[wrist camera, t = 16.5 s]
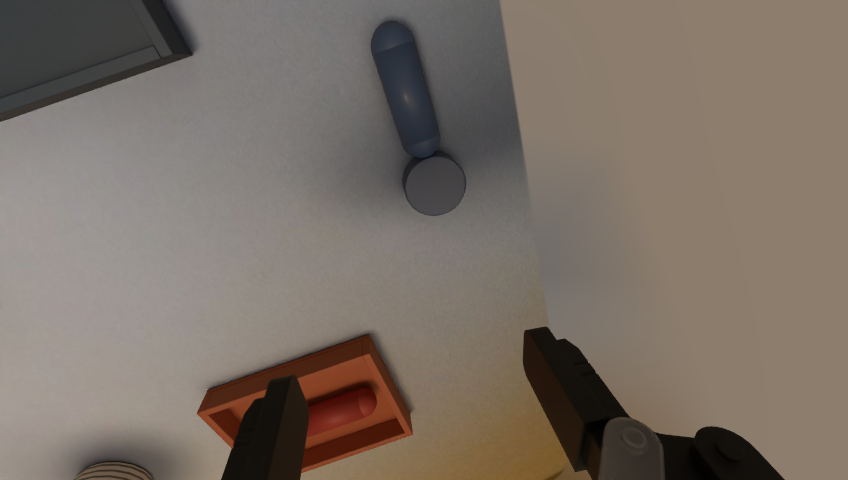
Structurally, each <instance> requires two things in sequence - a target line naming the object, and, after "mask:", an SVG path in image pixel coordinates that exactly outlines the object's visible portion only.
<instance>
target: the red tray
mask: <svg viewBox="0 0 848 480" xmlns="http://www.w3.org/2000/svg"><path fill="white" fill-rule="evenodd" d="M288 375H296V377H297V379H298V381H299V384H300V386H301V389H302V391H303V394H304V396H305V398H306V401H307V404H308V406H310V405H313V404H316V403H319V402H321V401H324V400H327V399H330V398H333V397H336V396H339V395H342V394H345V393H348V392H350V391H353V390H356V389H359V388H369V389H371V390H372V391H373V392H374V393H375V395H376V398H377V406H376V409H375V410H374V412H373V413H372V414H371V415H370V416H368V417H366V418H363V419H360V420H357V421H354V422H352V423H349V424H346V425H343V426H340V427H337V428H334V429H331V430H328V431H325V432H323V433H320V434H317V435H314V436H311V437H307V438H306V444H305V451H304V457H303V464H302V470H301V473H303V472H306V471H309V470H312V469H315V468H318V467H321V466H323V465H326V464H329V463H332V462H335V461H338V460H341V459H344V458H347V457H349V456H352V455H355V454H358V453H361V452H364V451H367V450H370V449H373V448H375V447H378V446H381V445H384V444H387V443H390V442H393V441H396V440H398V439H401V438H404V437H407V436H410V435H413V432H412V424H411V417H410V413H409V411H408V409H407V407H406V405H405V403H404V401H403V399H402V397H401V395H400V393H399V391H398V390H397V388H396V386H395V384H394V382H393V380H392V378H391V376H390V374H389V372H388V370H387V368H386V366H385V364H384V362H383V361H382V359H381V357H380V355H379V353H378V351H377V349H376V347H375V345H374V343H373V341H372V339H371V337H370V335H369V334H368V335H366V336H363V337H360V338H357V339H354V340H351V341H348V342H345V343H342V344H340V345H337V346H334V347H331V348H328V349H325V350H322V351H319V352H316V353H314V354H311V355H308V356H305V357H302V358H299V359H296V360H293V361H290V362H288V363H285V364H282V365H279V366H276V367H273V368H270V369H267V370H264V371H262V372H259V373H256V374H253V375H250V376H247V377H244V378H241V379H238V380H236V381H233V382H230V383H227V384H224V385H221V386H218V387H215V388H212V389H210V390H207V393H206V395H205V397H204V399H203V401H202V403H201V405H200V407H199V410H198V412H197V414H198V415H199V416H200V417H201V418H202V419H203V420H204V421H205V422H206V423H207V424H208V425H209V426H210V427H211V428H212V429H213V430H214V431H215V432H216V433H217V434H218V435H219V436H220V437H221V438H222V439H223V440H224V441H225V442H226V443H227V444H228V445H229V446H230V447H231V448H232V449H233V444H234V441H235V438H236V435H237V434H238V429H239V426H240V423H241V421H242V418H243V415H244V413H245V412H246V411H247V409H248V408H249V406H250V405H251V404H252V402H253V401H254V400H255V399H257V398H263V397H264V396H265V393H266V389H267V386H268V383H269V381H270V380H271V379H273V378H278V377H283V376H288Z"/></svg>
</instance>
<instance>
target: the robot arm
mask: <svg viewBox="0 0 848 480" xmlns="http://www.w3.org/2000/svg"><path fill="white" fill-rule="evenodd" d="M523 366H524V370H525V373H526V376H527V378H528V380H529V382H530V384H531V386H532V388H533V390H534V392H535V394H536V396H537V398H538V400H539V402H540V404H541V406H542V408H543V410H544V412H545V414H546V416H547V418H548V420H549V422H550V424H551V425H552V427H553V429H554V431H555V433H556V435H557V437H558V439H559V441H560V443H561V445H562V447H563V449H564V451H565V453H566V455H567V457H568V459H569V461H570V463H571V465H572V466H573V469H574V471H575V472H578V471H582V470H587V471H588V473H589V474H590V476H591V478H592V480H784V479H783V478H782V476H781V475H780V474H779V473H778V472H777V471H776V470H775V469H774V468H773V467H772V466H771V465H770V464H769V463H768V461H767V460H766V459H765V458H764V457H763V456H762V455H761V454H760V453H759V452H758V451H757V450H756V449H755V448H754V447H753V446H752V445H751V444H750V443H749V442H748V441H746V440H745V439H744V438H742V437H741V436H739V435H737V434H735V433H734V432H731V431H729V430H726V429H723V428H719V427H712V426H711V427H704V428H702V429H700V430H699V431H698V432H697V433H696V435H695V438H691V437H681V436H673V435H665V434H659V433H655V432H653V431H652V430H651V429H650V428H649V427H647V426H646V425H644V424H643V423H641V422H639V421H637V420H634V419H632V418H630V416H629V415H628V414H627V413H626V412H625V410H624V409H623V408H622V406H621V405H620V404H619V402H618V401H617V400H616V398H615V397H614V396H613V395H612V393H611V392H610V390H609V389H608V388H607V386H606V385H605V383H604V382H603V381H602V379H601V378H600V377H599V375H598V374H596V372H595V370H594V369H593V367H592V366H591V365H590V363H588V361H587V359H586V358H585V357H584V355H583V354H582V352H581V351H580V350H579V348H577V347H576V346H574V345H573V344H572V343H570V342H569V341H567V340H566V339H560V340H556V339H555V337H554V336H553V334H552V333H551V331H550V330H549V329H548V328H547V327H540V328H535V329H530V330H525V332H524V344H523ZM308 425H309V408H308V404H307V401H306V398H305V396H304V394H303V391H302V389H301V386H300V384H299V381H298V379H297V377H296V375H288V376H283V377H278V378H273V379H271V380H270V381H269V383H268V386H267V389H266V393H265V396H264V397H263V398H257V399H255V400H254V401H253V402H252V404H251V405H250V406H249V408H248V409H247V411H246V412H245V413H244V415H243V418H242V421H241V423H240V426H239V429H238V434H237V435H236V438H235V441H234V444H233V449H232V450H231V453H230V456H229V458H228V461H227V464H226V467H225V470H224V473H223V476H222V479H221V480H300V477H301V470H302V464H303V457H304V451H305V444H306V438H307V431H308Z"/></svg>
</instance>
